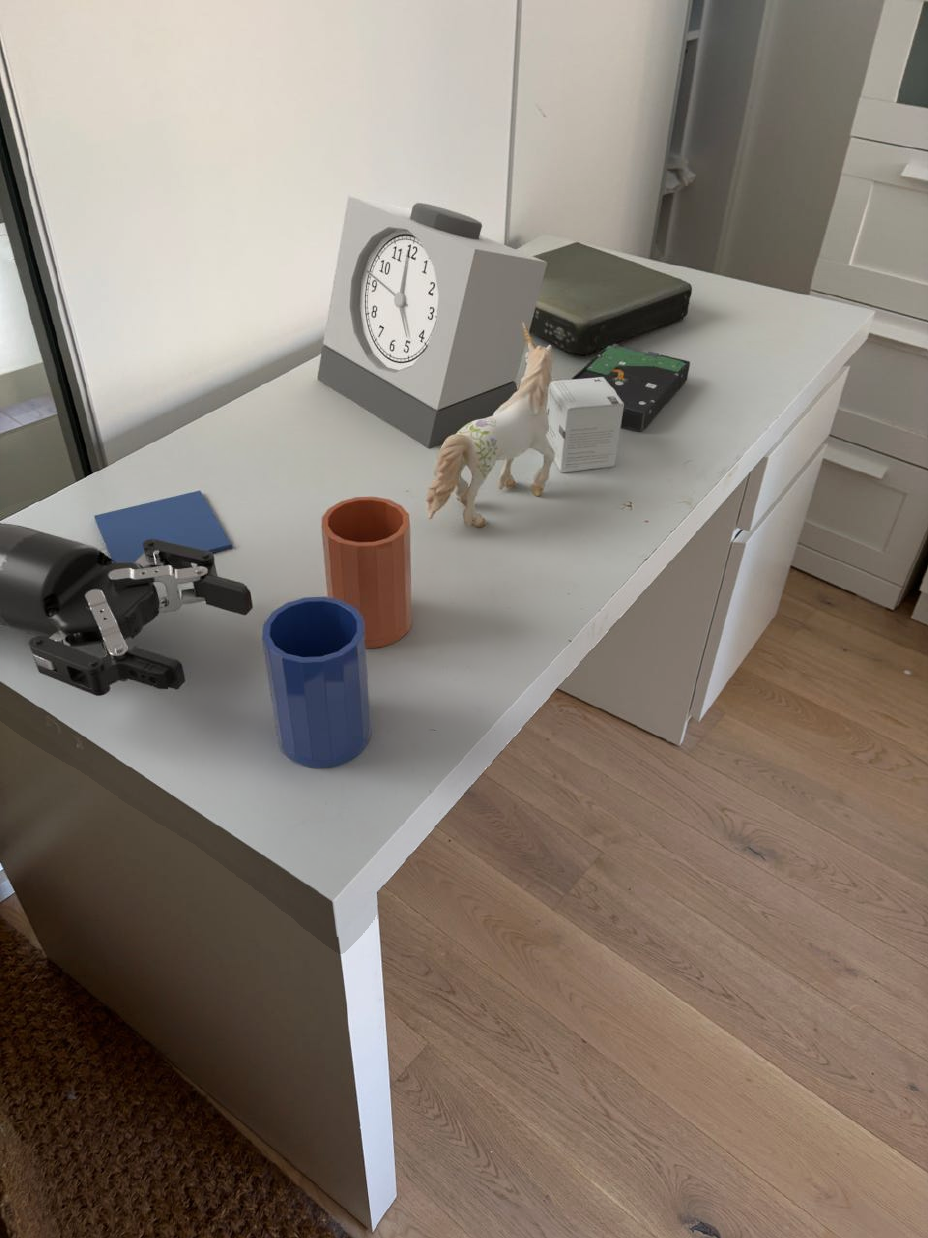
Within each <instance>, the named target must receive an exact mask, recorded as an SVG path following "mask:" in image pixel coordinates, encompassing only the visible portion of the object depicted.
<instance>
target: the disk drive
mask: <svg viewBox="0 0 928 1238" xmlns="http://www.w3.org/2000/svg"><path fill="white" fill-rule="evenodd" d="M690 366H691V361H689V360H686V359H681V358H678V357H674V356H673V357H672V356H669V355H664V354H660V353H657V352H653V351H647V352H646V351H643V350H642V351H641V350H637V349H633V348H629V347H624V346H621V345H619V344H618V343H613V344H611V345H609V346H607V347H605V348H603V349H601V350H600V351H599V352H598V354H597V355H595V356H594V357H593V358H592V359H591V360H590V361H589V362H588V363H587V364H586V365H585V366H584V367H582V368H581V369H580V370H579V371H578V372H577V373H576V374H575V375H574V376H573V377H572V378H571V379H570V380H574V379H587V378H597V377H604V378H605V380H606V381H607V382H608V383H609V385H610V386H611V387H612V388H613V389H614V390H615V391H616V393H617V395H618V396H619V398H620V399H621V400H622V402H623V403H624V408H623V414H622V421H621V428H623V429H627V430H634V431H635V432H636V431H638V432H643V431H644V430H645V429H647V428H648V426H649V425H650V424H651V423H652V422H653V421H654V419H655V418H656V417H657V416H658V415H659V413H661V411H662V410H663V409H664V408H665V406H666V405H667V404H668V403H669V402H670V401H672V399H673V397H674V396H675V395H676V394H677V393H678V392H679V391H680V390H681V388H682V387H683V386H684V384H686V382H687V381H688V377H689V371H690Z"/></svg>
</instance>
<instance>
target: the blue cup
mask: <svg viewBox="0 0 928 1238" xmlns="http://www.w3.org/2000/svg"><path fill="white" fill-rule="evenodd" d="M261 640H262V641H261V642H262V647H263V652H264V661H265V666H266V667H265V668H266V673H267V681H268V686H269V693H270V700H271V705H272V713H273V721H274V727H275V733H276V737H277V741H278V745H279V748H280V750H281V751H282V753H283V754H284V755H285V756H286V757H287V758H288V759H289V760H291V761H292V762H294V763H296V764H298V765H300V766H304V767H308V768H313V769H327V768H328V769H329V768H334V767H338V766H342V765H343V764H346V763H348V762H350V761H352V760H354V759H355V758H356V757H358V756H359V755H360V754H361V753H363V751H364V749H365V748H366V747H367V745H368V744H369V742H370V737H371V733H372V732H371V711H370V710H371V709H370V693H369V678H368V677H369V675H368V660H367V659H368V658H367V648H366V642H365V625H364V619H363V617H362V616H361V615H360V613H359V612H358V610H357V609H356V608H355V607H353V606H351V605H350V604H348V603H346V602H345V601H342V600H338V599H334V598H329V597H328V596H306V597H301V598H299V599H295V600H291V601H288V602H285V603H283V604H282V605H280V606H279V607H278V608H276V609H275V610H273V611H272V612H271V613H270V614H269V615H268V617H267V618H266V619H265V621H264V622H263V624H262V631H261Z"/></svg>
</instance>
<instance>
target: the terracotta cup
mask: <svg viewBox="0 0 928 1238" xmlns="http://www.w3.org/2000/svg"><path fill="white" fill-rule="evenodd" d="M320 527H321V537H322V538H321V539H322V549H323V559H324V569H325V570H324V571H325V581H326V592H327V597H329V598H334V599H338V600H342V601H345V602H346V603H348V604H350V605H351V606H353V607H355V608H356V609H357V610H358V612H359V613H360V615H361V616H362V617H363V619H364V625H365V642H366V649H378V648H382V647H386V646H391V645H393V644H394V643H396V642H398V641H399V640H401V639H402V638H404V637H405V636H406V635H407V633H408V632H409V631H410V628H411V626H412V614H413V613H412V569H411V568H412V566H411V565H412V564H411V560H412V558H411V522H410V514H409V512H408V511H407V510H406V509H405V507H404V506H402V505H401V504H399V503H397V502H395V501H394V500H391V499H388V498H384V497H377V496H356V497H352V498H351V497H350V498H348V499H344V500H341V501H339V502H337V503H335V504H333V505H331V506H330V507H328V508H327V510H326V511H325V512H324V514H323V515H322V516H321V526H320Z"/></svg>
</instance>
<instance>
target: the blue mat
mask: <svg viewBox="0 0 928 1238" xmlns="http://www.w3.org/2000/svg"><path fill="white" fill-rule="evenodd" d="M93 517H94V520H95V523H96V526H97V528H98V530H99V533H100V535H101V537H102V540H103V542H104V544H105V547H106V549H107V551H108V554H109V558H110V559H112V560H113V561H116V562H136V561H137V560H138V559H139V558H140V557H141V556H142V555H143V554H144V548H143V542H144V541H146V540H148V539H157V540H161V541H165V542H170V543H174V544H178V545H183V546H187V547H192V548H196V549H200V550H205V551H209V552H212V553H213V554H214V553H217V552H221V551H224V550H229V549H232V548H233V544H232V543H231V540H230V539H229V537H228V536H227V534H226V532H225V530H224V529H223V527H222V525H221V523H220V521H219V520H218V518H217V517H216V515H215V514H214V512H213V510H212V508H211V506H210V505H209V503H208V501H207V500H206V497H205V496H204V495H203V493H202V491H201V490H196V491H191V492H186V493H183V494H178V495H174V496H171V497H166V498H162V499H158V500H153V501H149V502H145V503H141V504H138V505H133V506H128V507H123V508H120V509H115V510H111V511H108V512H104V513H100V514H95V515H93Z"/></svg>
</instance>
